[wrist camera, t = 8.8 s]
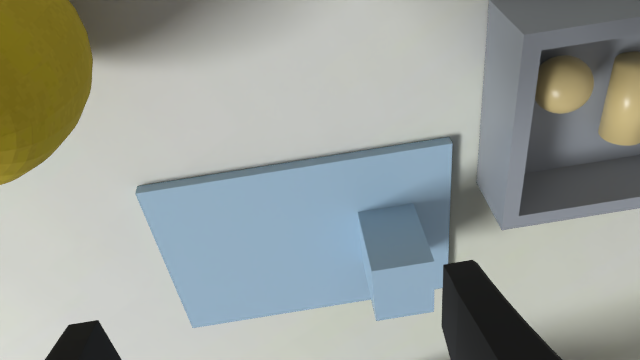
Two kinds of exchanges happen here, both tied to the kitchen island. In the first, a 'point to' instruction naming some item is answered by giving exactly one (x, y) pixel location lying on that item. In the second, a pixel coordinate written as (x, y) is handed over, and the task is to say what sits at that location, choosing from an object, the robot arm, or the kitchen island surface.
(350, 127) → the kitchen island surface
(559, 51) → the tub
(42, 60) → the lemon
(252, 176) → the lid
